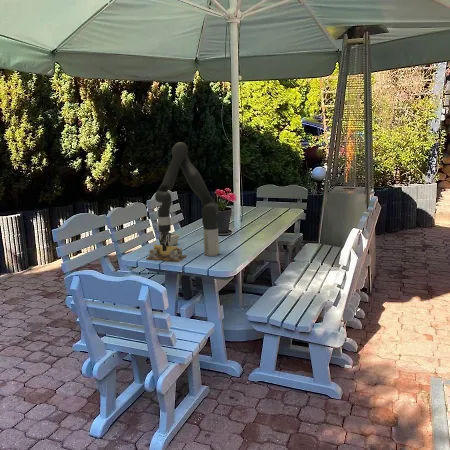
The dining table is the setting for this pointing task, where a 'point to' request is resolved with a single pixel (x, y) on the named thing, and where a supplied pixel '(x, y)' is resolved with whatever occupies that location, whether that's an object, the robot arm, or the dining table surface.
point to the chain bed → (166, 255)
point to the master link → (168, 249)
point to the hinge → (173, 239)
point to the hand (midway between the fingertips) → (165, 250)
